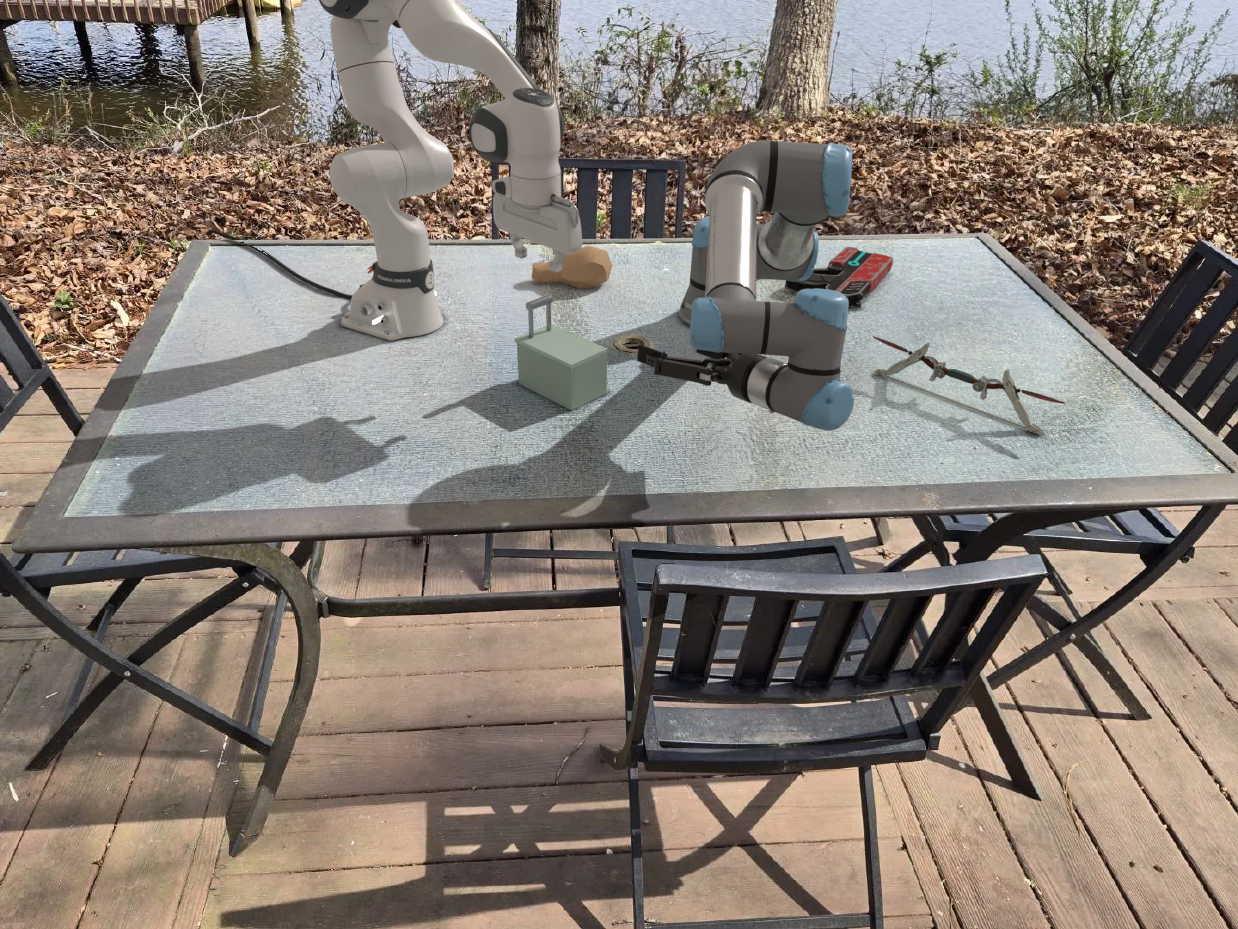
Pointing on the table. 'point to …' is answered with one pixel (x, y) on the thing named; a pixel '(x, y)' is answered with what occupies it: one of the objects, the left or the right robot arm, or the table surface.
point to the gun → (848, 275)
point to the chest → (562, 378)
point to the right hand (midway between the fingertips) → (669, 348)
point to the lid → (557, 339)
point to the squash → (577, 269)
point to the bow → (978, 385)
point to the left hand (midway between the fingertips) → (538, 263)
